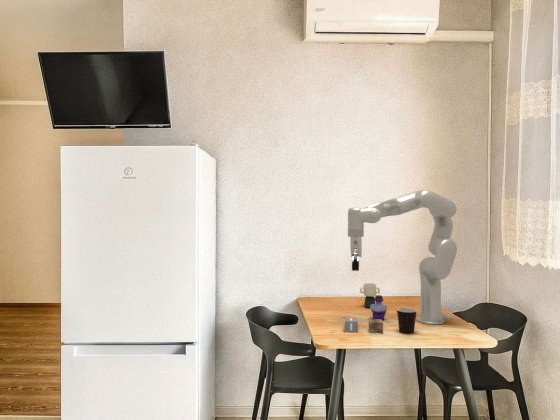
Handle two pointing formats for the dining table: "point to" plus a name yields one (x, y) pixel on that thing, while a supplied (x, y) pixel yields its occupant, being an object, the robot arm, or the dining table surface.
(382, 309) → the potion bottle
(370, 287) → the character mug
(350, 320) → the marked slate block
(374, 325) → the walnut block
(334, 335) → the dining table surface
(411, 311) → the coffee mug
